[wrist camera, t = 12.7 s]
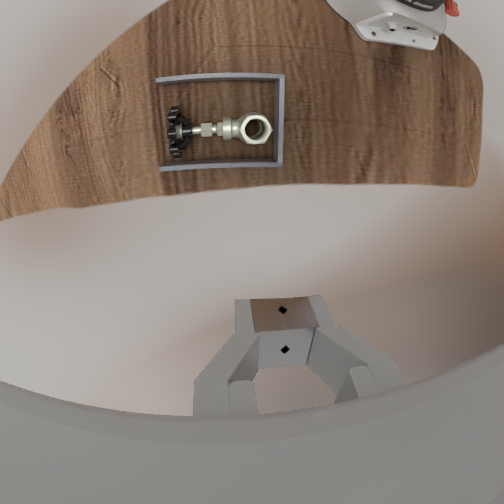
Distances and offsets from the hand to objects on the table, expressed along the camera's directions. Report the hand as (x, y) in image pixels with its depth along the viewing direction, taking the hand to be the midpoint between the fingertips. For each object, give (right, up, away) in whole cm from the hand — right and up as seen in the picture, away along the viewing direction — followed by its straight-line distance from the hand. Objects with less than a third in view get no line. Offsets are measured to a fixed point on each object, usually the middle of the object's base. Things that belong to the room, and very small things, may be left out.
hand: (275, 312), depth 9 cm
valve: (-5, +19, +24) cm, 31 cm away
